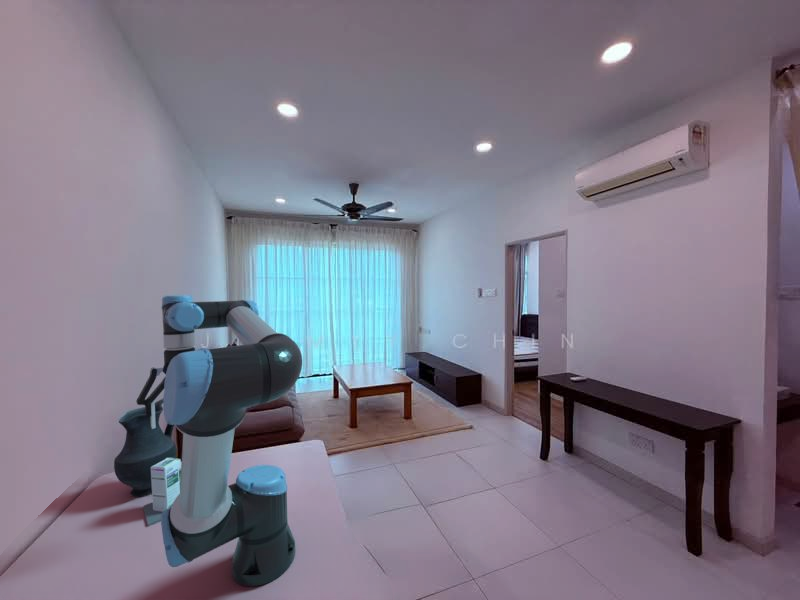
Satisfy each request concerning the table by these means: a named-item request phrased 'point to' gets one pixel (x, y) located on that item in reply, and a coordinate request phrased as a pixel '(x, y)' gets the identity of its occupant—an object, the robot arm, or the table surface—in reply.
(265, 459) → the table surface
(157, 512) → the mat
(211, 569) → the table surface
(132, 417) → the pitcher
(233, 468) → the table surface
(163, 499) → the syrup box
